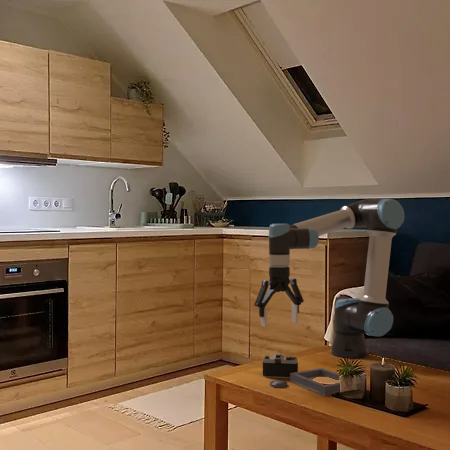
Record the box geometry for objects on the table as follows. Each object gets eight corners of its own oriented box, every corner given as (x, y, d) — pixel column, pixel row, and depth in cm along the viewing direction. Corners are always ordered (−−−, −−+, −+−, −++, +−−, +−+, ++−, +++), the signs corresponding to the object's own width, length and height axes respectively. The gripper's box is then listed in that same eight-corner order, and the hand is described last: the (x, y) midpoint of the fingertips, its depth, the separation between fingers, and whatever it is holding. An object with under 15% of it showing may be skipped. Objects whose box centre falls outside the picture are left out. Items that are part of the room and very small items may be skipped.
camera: (298, 372, 225) (296, 348, 225) (299, 378, 218) (297, 353, 218) (263, 374, 227) (261, 350, 226) (262, 380, 219) (260, 355, 219)
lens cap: (280, 382, 213) (280, 378, 213) (290, 387, 208) (290, 383, 208) (266, 385, 211) (266, 381, 210) (276, 390, 205) (276, 385, 205)
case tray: (321, 376, 221) (321, 367, 220) (357, 389, 204) (357, 380, 204) (290, 381, 214) (290, 373, 214) (324, 396, 197) (324, 387, 197)
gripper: (300, 263, 231) (300, 319, 232) (244, 267, 219) (244, 325, 219) (313, 265, 224) (313, 322, 225) (256, 268, 212) (256, 329, 213)
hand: (279, 324), depth 222 cm, fingers open, 13 cm apart
